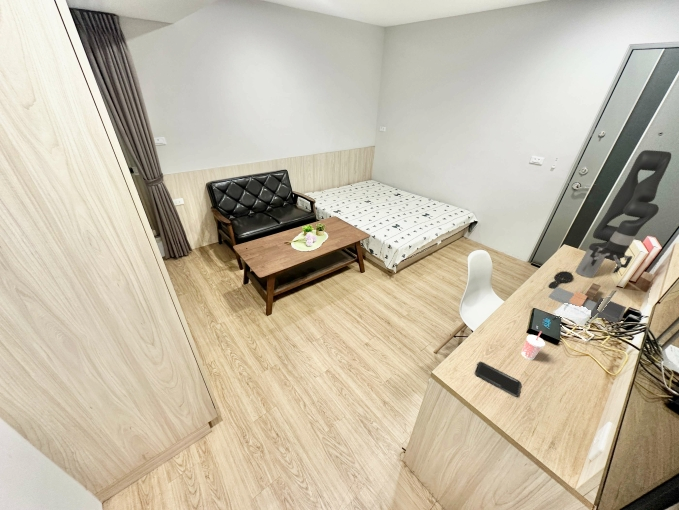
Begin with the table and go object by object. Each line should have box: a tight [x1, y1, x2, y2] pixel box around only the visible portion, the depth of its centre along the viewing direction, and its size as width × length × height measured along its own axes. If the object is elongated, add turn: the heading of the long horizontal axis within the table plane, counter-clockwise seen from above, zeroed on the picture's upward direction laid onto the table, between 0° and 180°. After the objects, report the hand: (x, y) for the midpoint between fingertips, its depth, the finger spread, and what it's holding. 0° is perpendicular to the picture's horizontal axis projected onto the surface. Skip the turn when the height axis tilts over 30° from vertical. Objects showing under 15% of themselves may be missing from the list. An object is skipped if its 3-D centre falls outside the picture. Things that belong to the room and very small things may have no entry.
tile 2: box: [569, 296, 585, 307], centre depth 137 cm, size 5×5×2 cm
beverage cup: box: [521, 330, 546, 361], centre depth 106 cm, size 6×6×14 cm
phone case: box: [557, 315, 596, 343], centre depth 124 cm, size 7×1×15 cm
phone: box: [474, 361, 522, 398], centre depth 99 cm, size 8×1×15 cm
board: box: [548, 286, 597, 312], centre depth 141 cm, size 12×18×2 cm, turn 38°
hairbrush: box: [547, 270, 574, 290], centre depth 158 cm, size 8×4×25 cm
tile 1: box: [574, 291, 588, 300], centre depth 141 cm, size 5×5×2 cm
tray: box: [591, 297, 627, 323], centre depth 131 cm, size 16×10×5 cm, turn 128°
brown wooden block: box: [584, 282, 602, 301], centre depth 144 cm, size 14×4×6 cm, turn 128°
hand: (603, 268), depth 136 cm, fingers open, 8 cm apart
